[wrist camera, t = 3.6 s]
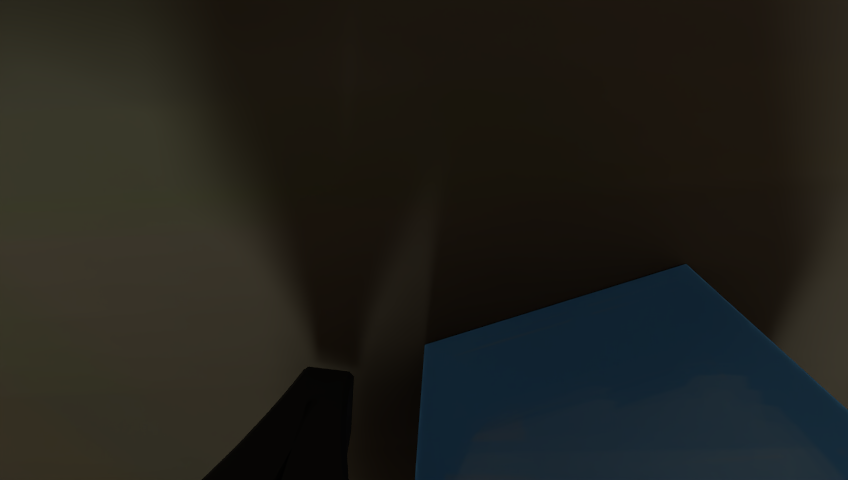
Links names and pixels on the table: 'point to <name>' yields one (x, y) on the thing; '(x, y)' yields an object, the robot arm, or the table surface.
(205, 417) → the table surface
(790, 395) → the perfume bottle
